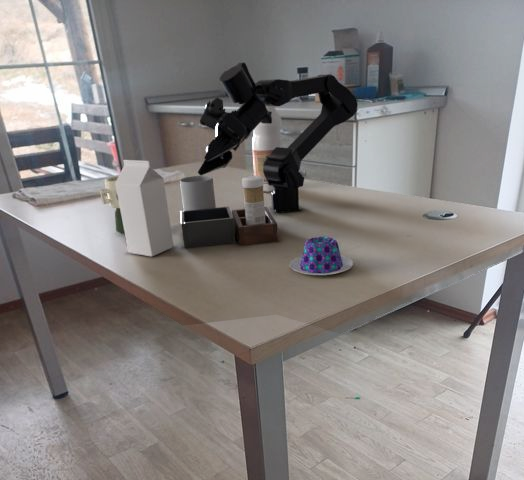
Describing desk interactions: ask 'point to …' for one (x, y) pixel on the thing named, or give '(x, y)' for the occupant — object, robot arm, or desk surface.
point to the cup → (197, 192)
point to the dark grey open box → (207, 227)
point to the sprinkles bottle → (254, 200)
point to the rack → (254, 229)
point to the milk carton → (144, 209)
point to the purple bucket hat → (321, 258)
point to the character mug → (113, 201)
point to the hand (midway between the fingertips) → (202, 167)
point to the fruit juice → (266, 143)
